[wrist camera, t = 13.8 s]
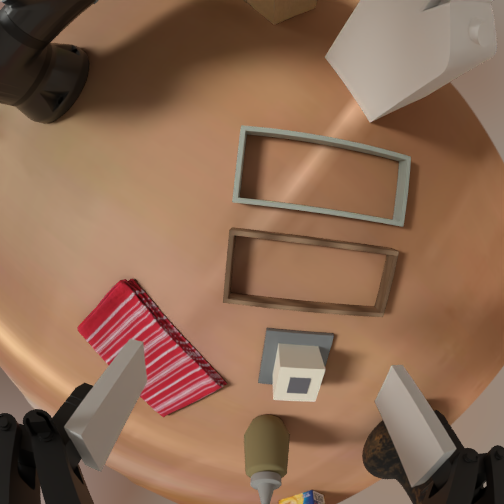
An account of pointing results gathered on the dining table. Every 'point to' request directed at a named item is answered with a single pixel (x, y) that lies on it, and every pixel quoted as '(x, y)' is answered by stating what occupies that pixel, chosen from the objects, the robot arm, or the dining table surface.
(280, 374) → the cream cube
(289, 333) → the slate tile
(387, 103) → the milk
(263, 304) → the walnut frame
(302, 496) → the beverage box
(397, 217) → the grey frame
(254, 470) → the squeeze bottle
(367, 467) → the glass bottle
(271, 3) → the sandwich container
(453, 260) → the dining table surface
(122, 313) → the dish towel
